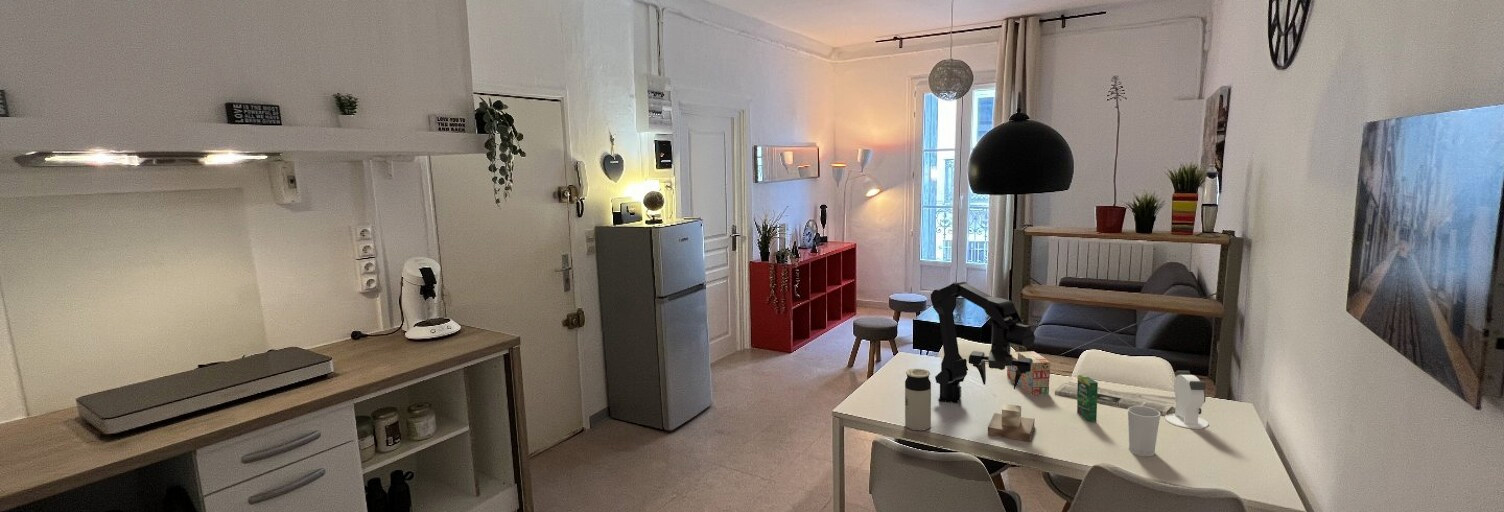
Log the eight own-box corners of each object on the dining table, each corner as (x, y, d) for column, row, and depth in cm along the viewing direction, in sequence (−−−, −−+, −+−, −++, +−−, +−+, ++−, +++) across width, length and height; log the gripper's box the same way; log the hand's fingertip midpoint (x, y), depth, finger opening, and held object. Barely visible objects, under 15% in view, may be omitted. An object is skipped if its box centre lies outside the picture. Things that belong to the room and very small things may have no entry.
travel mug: (931, 422, 214) (931, 369, 211) (929, 432, 206) (930, 377, 204) (906, 420, 216) (906, 367, 214) (903, 429, 209) (903, 375, 206)
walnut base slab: (987, 434, 203) (987, 427, 202) (994, 420, 213) (994, 413, 213) (1029, 441, 197) (1029, 433, 197) (1034, 426, 207) (1034, 419, 207)
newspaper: (1054, 395, 233) (1054, 386, 233) (1064, 385, 242) (1064, 376, 242) (1171, 418, 211) (1172, 408, 210) (1177, 406, 220) (1177, 396, 219)
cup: (1119, 446, 192) (1121, 407, 190) (1145, 444, 192) (1147, 405, 191) (1137, 458, 184) (1139, 418, 182) (1164, 456, 185) (1167, 415, 183)
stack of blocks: (1006, 375, 254) (1007, 344, 252) (1022, 374, 255) (1023, 343, 253) (1032, 395, 233) (1033, 362, 231) (1049, 394, 233) (1050, 361, 231)
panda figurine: (1216, 430, 200) (1220, 382, 197) (1175, 429, 202) (1178, 382, 199) (1196, 414, 211) (1199, 369, 209) (1158, 413, 213) (1161, 369, 211)
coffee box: (1075, 412, 217) (1077, 374, 215) (1084, 412, 217) (1085, 374, 215) (1087, 422, 209) (1089, 383, 207) (1096, 422, 209) (1098, 382, 207)
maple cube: (1001, 424, 204) (1001, 409, 203) (1004, 418, 208) (1004, 403, 207) (1018, 427, 201) (1019, 411, 201) (1021, 421, 206) (1021, 406, 205)
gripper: (965, 343, 207) (964, 390, 210) (1029, 351, 198) (1027, 400, 201) (972, 333, 217) (971, 379, 220) (1034, 340, 208) (1031, 388, 210)
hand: (999, 386), depth 212 cm, fingers open, 9 cm apart
